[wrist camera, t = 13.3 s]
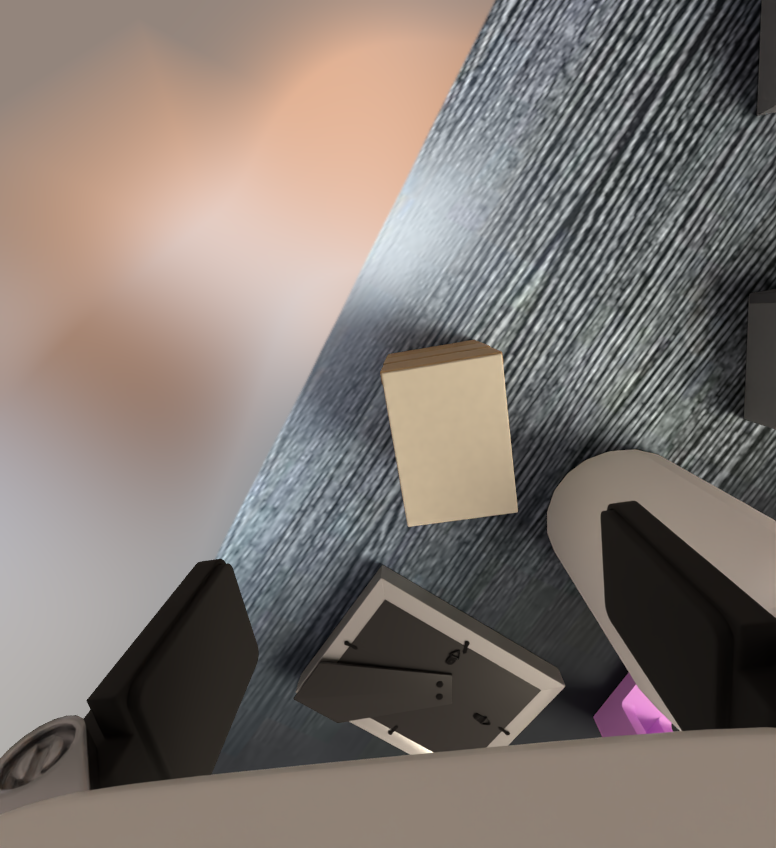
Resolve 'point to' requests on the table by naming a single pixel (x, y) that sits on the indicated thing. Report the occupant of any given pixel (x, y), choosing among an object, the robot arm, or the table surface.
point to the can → (678, 510)
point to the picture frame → (425, 673)
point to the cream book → (451, 436)
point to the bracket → (630, 713)
